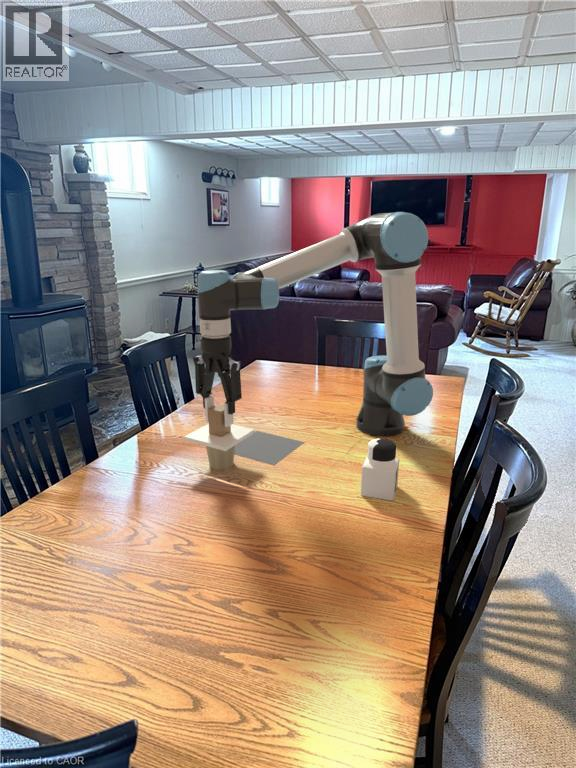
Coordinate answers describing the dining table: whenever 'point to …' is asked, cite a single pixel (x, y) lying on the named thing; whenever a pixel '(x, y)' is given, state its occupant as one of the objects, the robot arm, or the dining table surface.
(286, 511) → the dining table surface
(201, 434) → the lid
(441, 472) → the dining table surface
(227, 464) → the flower pot
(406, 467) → the dining table surface
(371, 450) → the container
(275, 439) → the mat
